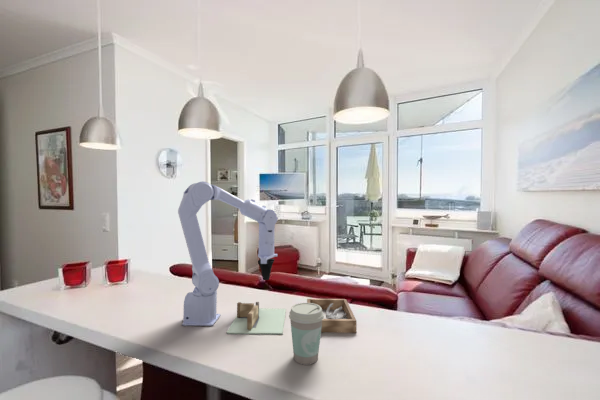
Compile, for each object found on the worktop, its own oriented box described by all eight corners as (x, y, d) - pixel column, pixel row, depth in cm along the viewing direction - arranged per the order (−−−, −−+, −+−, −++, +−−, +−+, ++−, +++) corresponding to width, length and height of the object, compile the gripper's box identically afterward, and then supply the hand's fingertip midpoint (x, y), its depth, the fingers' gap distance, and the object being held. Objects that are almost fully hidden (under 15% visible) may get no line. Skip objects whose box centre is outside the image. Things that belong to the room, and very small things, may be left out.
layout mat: (226, 333, 77) (226, 332, 77) (240, 309, 95) (240, 308, 95) (282, 334, 76) (282, 332, 76) (286, 309, 94) (286, 308, 94)
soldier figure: (353, 322, 87) (344, 325, 77) (341, 331, 88) (331, 335, 77) (338, 301, 91) (328, 301, 81) (327, 310, 92) (316, 311, 81)
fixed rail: (236, 317, 86) (236, 302, 86) (237, 316, 88) (237, 301, 88) (258, 318, 86) (258, 303, 86) (259, 316, 88) (259, 301, 88)
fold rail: (254, 317, 86) (254, 304, 86) (258, 318, 86) (258, 304, 86) (246, 329, 78) (246, 314, 78) (251, 329, 78) (251, 315, 78)
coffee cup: (296, 372, 59) (297, 317, 60) (283, 352, 67) (284, 304, 67) (330, 363, 63) (330, 311, 63) (313, 345, 71) (314, 300, 71)
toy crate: (308, 332, 78) (308, 320, 78) (307, 308, 96) (307, 298, 96) (356, 332, 78) (356, 320, 78) (345, 308, 96) (346, 299, 96)
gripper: (275, 245, 90) (275, 285, 90) (279, 239, 105) (278, 274, 104) (254, 245, 90) (254, 285, 90) (261, 239, 105) (260, 274, 104)
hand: (266, 279), depth 97 cm, fingers closed
